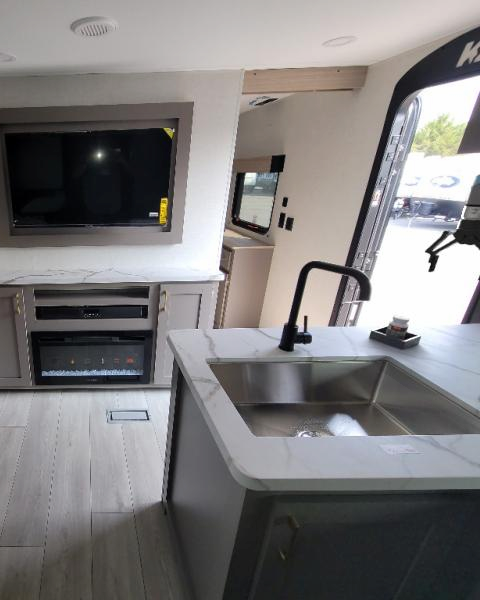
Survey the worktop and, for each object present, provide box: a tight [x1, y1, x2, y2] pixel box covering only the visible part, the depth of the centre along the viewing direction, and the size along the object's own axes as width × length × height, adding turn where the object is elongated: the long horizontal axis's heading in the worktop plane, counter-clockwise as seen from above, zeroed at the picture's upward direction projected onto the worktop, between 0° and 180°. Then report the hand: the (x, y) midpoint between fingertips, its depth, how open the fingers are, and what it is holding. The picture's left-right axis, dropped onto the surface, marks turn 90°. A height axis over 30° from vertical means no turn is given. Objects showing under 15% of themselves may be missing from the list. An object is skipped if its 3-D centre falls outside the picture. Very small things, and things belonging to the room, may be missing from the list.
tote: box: [368, 324, 422, 351], centre depth 134 cm, size 11×11×4 cm
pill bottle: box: [386, 314, 410, 340], centre depth 132 cm, size 6×6×10 cm
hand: (454, 275), depth 124 cm, fingers open, 13 cm apart
